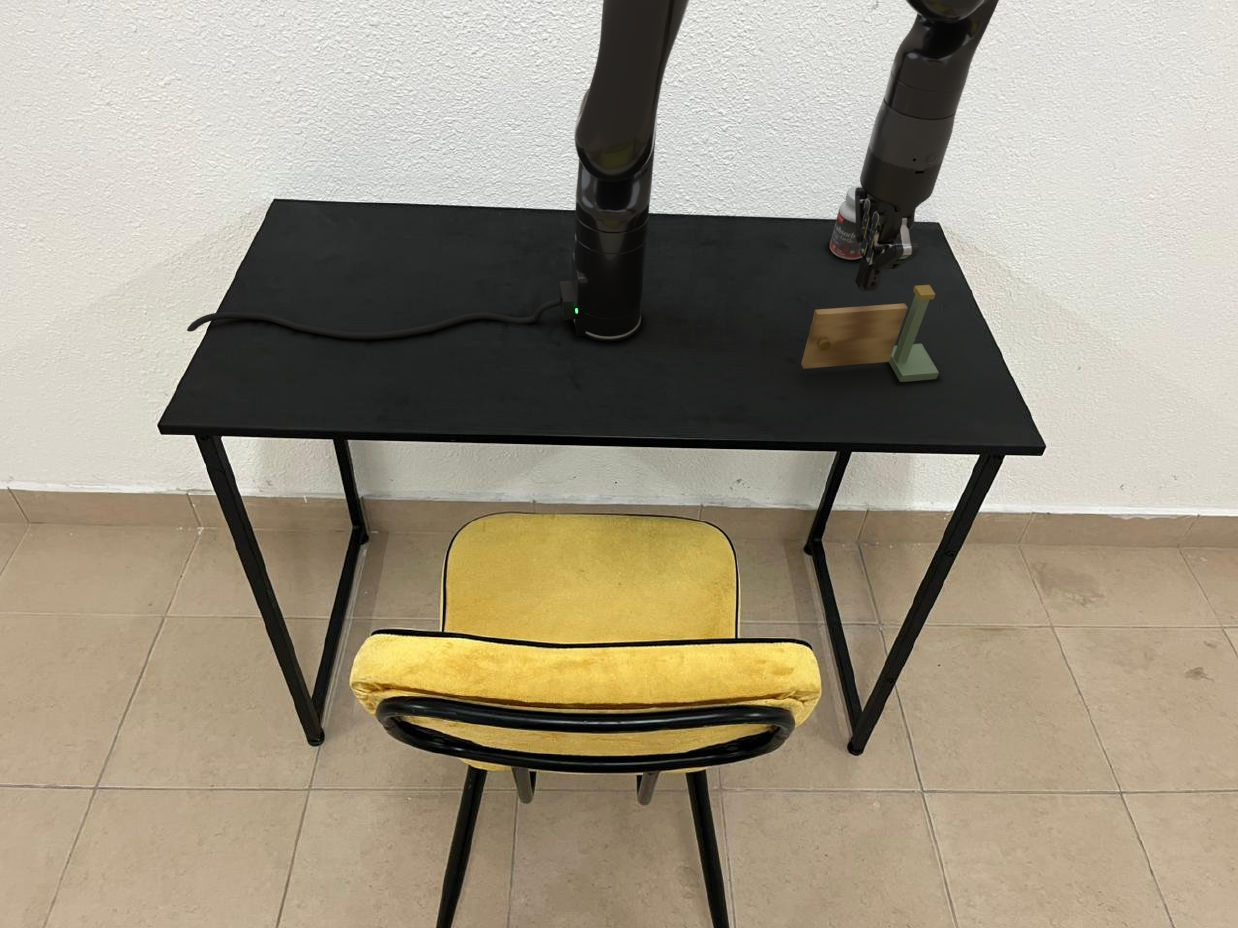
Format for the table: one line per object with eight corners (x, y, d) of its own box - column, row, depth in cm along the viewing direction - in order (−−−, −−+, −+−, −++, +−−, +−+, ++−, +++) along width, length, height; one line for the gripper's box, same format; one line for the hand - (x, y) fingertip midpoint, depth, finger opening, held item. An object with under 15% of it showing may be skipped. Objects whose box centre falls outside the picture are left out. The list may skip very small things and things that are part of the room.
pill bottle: (821, 248, 142) (835, 191, 135) (845, 236, 144) (860, 179, 137) (849, 265, 139) (865, 208, 132) (873, 253, 142) (890, 196, 134)
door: (805, 373, 120) (819, 319, 113) (801, 363, 121) (815, 309, 114) (891, 366, 121) (910, 312, 115) (886, 357, 123) (905, 303, 116)
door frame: (898, 382, 121) (927, 305, 112) (882, 353, 125) (908, 276, 116) (936, 379, 122) (967, 302, 113) (919, 350, 126) (948, 273, 117)
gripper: (849, 116, 95) (816, 255, 108) (896, 183, 87) (854, 326, 99) (916, 113, 97) (875, 251, 109) (970, 178, 88) (918, 321, 101)
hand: (865, 287), depth 104 cm, fingers closed
